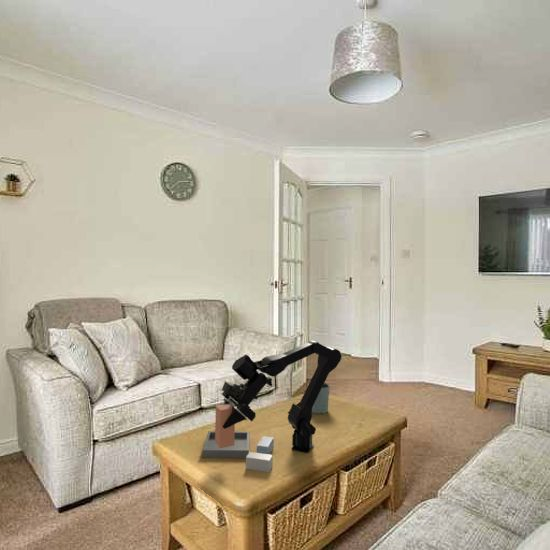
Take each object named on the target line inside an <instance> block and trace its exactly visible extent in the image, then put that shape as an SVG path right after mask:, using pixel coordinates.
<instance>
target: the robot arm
mask: <svg viewBox="0 0 550 550" xmlns="http://www.w3.org/2000/svg"><path fill="white" fill-rule="evenodd" d="M313 354H315V355H317V356H318V357H317V367H316V369H315V371H314V373H313V376H312V377H311V379H310V381H309V383H308V384H309V385H308V384H307V387H306V389H305V391H304V393H303V395H302V397H301V399H300V401H299V402H298V403H296V404H295V403H292V405H291V407H290V409H289V411H287V414H288V416H287V421H288V423H289V425H291V427H292V429H293V434H292V436H291V437H292V439H291V440H292V444H291V445H292V447H291V450H293V451H298V452H302V453H303V452H304V453H309V452H310V451H311V450H312V449H313V448H314V443H313V435H315V434H316V429H317V428H316V426H314V425H313V424H312V423H311V421H312V418H313V413H312V407H313V405H314V403H315V401H316V399H317V397H318V395H319V393H320V391H321V389H322V387H323V385H324V383H326V380H327V379H328V377H329V374H330V373H332V371H333V370H335V369H336V368H337V366H338V365H339V364H340V362H341V360H342V353H341V351H340V350H339V349H337V348H334V347H332V346H327V345H324V344H321V343H320V342H318V341H315V340H308V341H307V342H305V343H303V344H300V345H299V346H297V347H294V348H292V349H289V350H287V351H286V352H284V353H280V354H271V355H268V356H264V357H263V358H262V359H261V360H258V361H257V360H256V361H254V360H252V359H251V357H250V356H249V355H247V353H246V354H244V355H242V356H240V357H238V358H237V359H236V360H235V361H234V362H233V364H232V365H231V369H232V370H233V371H234V372H235V373H236V374H237V375H238V376H239V377H240V378H241V379H242V380H243V381H244V380H245V381H246V382H245V383H240V384H236V383H232V382H228V381H224V384H223V386H222V388H221V391H222V393H221V395H222V396H223V397H224V398H223V404H231V405H232V413H231V415H230V416H229V417H228V419H227V420H226V422H225V423H224V425H223V428H224V429H226V428H228V427H230V426H232V425H234V424H235V425H236V424H238V423H241V422H243V421H247V420H250V421H249V422H251V423H252V422H253V421H254V420H255V419H256V412H255V411H254V410H253V409H251V407H250V404H251V403H252V402H253V401H254V400H256V401H257V400H258V399H259V397H258V395H259V393H260V392H261V391H262V390H263V389H264V387H265V386H266V385H267V386H269V387H273V382H272V380H273V377H277V376H279V375H280V374H281V373H282V372H284V371H285V369H286V368H287V367H288V366H290V365H293V364H294V363H296V362H299V361H301V360H303V359H304V358H306V357H309V356H311V355H313ZM258 371H259V372H258ZM266 375H267V376H268V377H267V376H266Z"/></svg>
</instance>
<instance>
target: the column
mask: <svg viewBox="0 0 550 550" xmlns="http://www.w3.org/2000/svg"><path fill="white" fill-rule="evenodd" d="M231 413H232V405H231V404H224V403H223V404H216V405H215V423H214V424H215V426H214V427H215V443H216V444H217V445H218V446H219V448H224V447H229V446H234V435H235V425H236V424H234V425H232V426H230V427H228V428H226V429H224V428H223V425H224V423H225V422H226V420H227V419H228V417H229V416H230V415H231Z"/></svg>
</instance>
